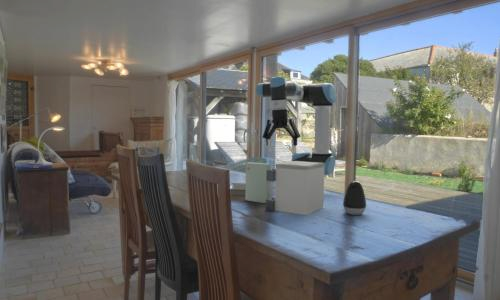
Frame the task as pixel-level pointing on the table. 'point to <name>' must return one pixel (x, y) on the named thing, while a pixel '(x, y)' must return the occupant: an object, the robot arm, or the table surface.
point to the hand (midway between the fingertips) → (282, 152)
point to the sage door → (257, 182)
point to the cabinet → (299, 187)
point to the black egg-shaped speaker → (354, 199)
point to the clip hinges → (271, 203)
